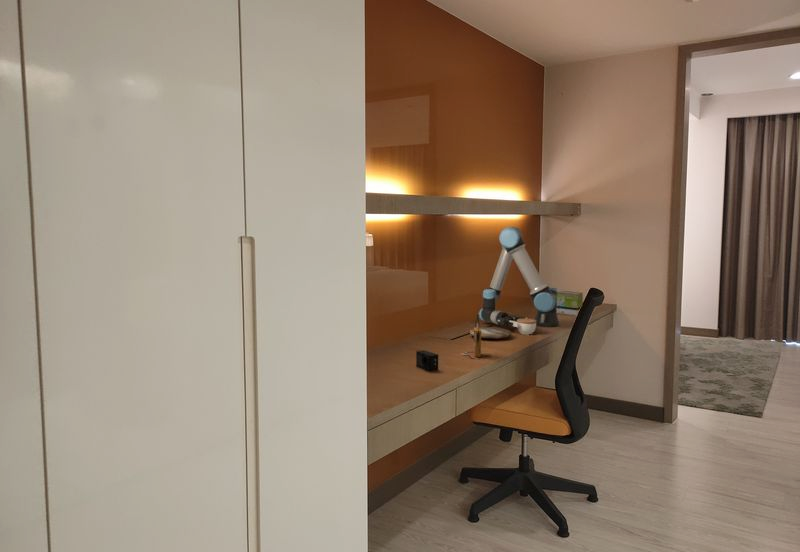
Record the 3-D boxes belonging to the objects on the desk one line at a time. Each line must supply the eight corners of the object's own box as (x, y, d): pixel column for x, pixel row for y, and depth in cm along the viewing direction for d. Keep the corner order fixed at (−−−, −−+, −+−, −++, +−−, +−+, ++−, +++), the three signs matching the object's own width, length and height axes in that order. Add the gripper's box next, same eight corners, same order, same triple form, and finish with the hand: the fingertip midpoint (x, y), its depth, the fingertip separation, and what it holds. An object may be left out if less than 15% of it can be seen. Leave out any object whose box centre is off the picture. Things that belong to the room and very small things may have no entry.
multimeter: (458, 352, 299) (458, 311, 297) (478, 352, 298) (479, 311, 296) (460, 359, 284) (460, 316, 282) (481, 359, 284) (482, 317, 282)
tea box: (555, 313, 414) (556, 291, 412) (560, 311, 422) (561, 290, 420) (577, 315, 405) (578, 293, 404) (582, 313, 413) (583, 292, 412)
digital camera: (413, 366, 270) (413, 351, 270) (423, 365, 273) (423, 349, 273) (428, 372, 262) (428, 355, 261) (438, 370, 265) (438, 354, 264)
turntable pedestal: (490, 334, 341) (490, 332, 341) (503, 337, 333) (503, 335, 333) (477, 336, 335) (477, 334, 335) (489, 339, 327) (489, 337, 327)
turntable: (491, 328, 349) (491, 325, 349) (519, 335, 331) (519, 331, 331) (461, 332, 337) (461, 329, 336) (489, 339, 319) (489, 336, 319)
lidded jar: (536, 336, 338) (536, 319, 337) (516, 335, 341) (517, 318, 340) (535, 332, 349) (536, 316, 348) (516, 331, 351) (517, 315, 350)
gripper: (515, 322, 368) (541, 327, 351) (484, 326, 354) (510, 332, 337) (515, 309, 367) (542, 314, 350) (484, 313, 353) (510, 319, 336)
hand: (526, 323), depth 343 cm, fingers open, 13 cm apart
